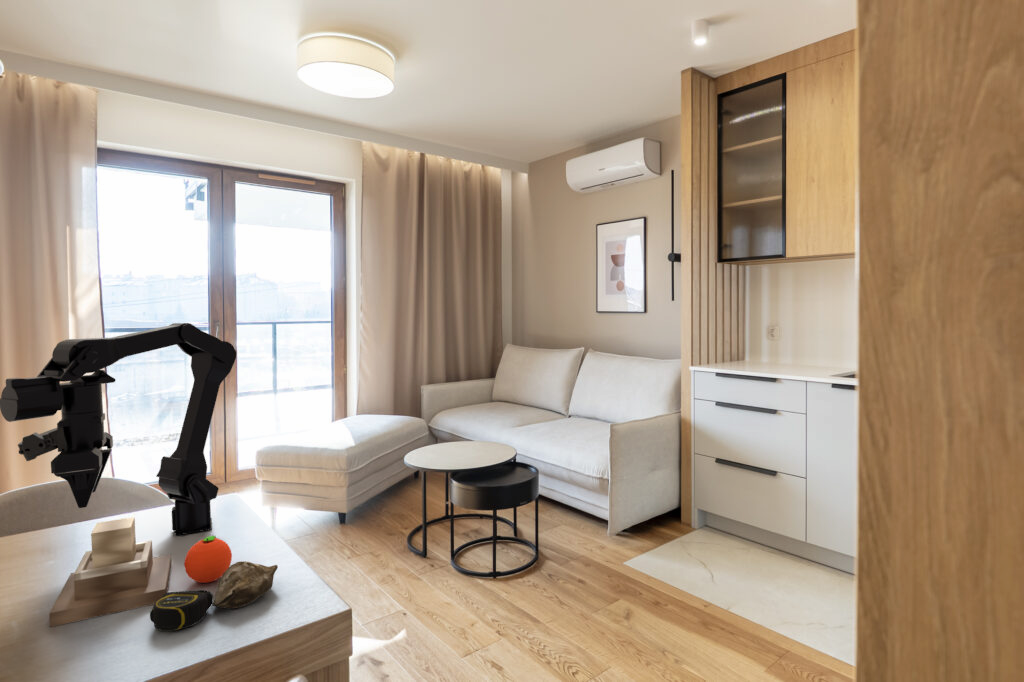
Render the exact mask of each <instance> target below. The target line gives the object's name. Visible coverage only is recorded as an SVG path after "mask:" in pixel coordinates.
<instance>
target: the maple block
mask: <svg viewBox="0 0 1024 682" xmlns="http://www.w3.org/2000/svg"><path fill="white" fill-rule="evenodd" d="M90 536H91V537H90V538H91V551H92V562H93V569H94V568H100V567H105V566H111V565H116V564H122V563H127V562H132V561H134V558H135V555H136V543H137V541H136V517H135V516H133V517H126V518H120V519H113V520H107V521H100V522H99V521H98V522H96V524H95V526H94V527H93V530H91V533H90Z"/></svg>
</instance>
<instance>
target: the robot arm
mask: <svg viewBox="0 0 1024 682" xmlns="http://www.w3.org/2000/svg"><path fill="white" fill-rule="evenodd" d="M175 345H176V346H178V348H179V349H180V351H182V352H183V353H184V354H186V355H187V356H189V357H191V361H190V368H191V372H192V373H191V374H192V376H193V385H192V389H191V392H190V396H189V400H188V403H187V404H188V405H187V408H186V412H185V416H184V418H183V419H184V420H183V424H182V427H181V432H180V436H179V438H178V442H177V446H176V448H175V450H174V452H173V453H172V454H171V455H170V456H162V458H161V460H160V468H159V470H158V473H156V478H158V487H160V488H161V490H162V491H163V492H164V493H166V495H167V497H168V499H169V500H174V506H173V507H172V508H171V528H172V531H174V536H182V535H188V534H194V533H199V532H206V531H210V530H212V529H213V522H212V514H211V513H212V511H211V501H212V500H214V499H216V498H217V496H218V492H219V490H220V489H219V487H218V486H217V485H216V484H214V483H213V482H211V481H210V480H208V479H207V472H208V464H207V461H206V460H207V459H206V457H205V453H204V452H205V448H206V447H205V446H206V443H207V438H208V435H209V431H210V427H211V423H212V418H213V414H214V412H215V411H214V410H215V407H216V402H217V399H218V398H217V397H218V394H219V391H220V386H221V384H222V383H223V382H224V381H225V379H226V378H227V377H228V376H229V374H230V373H231V372H232V369H233V366H234V365H235V362H236V360H237V350H236V349H235V347H234V345H233V344H231V343H230V342H228V341H225V340H221V339H220V338H218V337H216V336H214V335H212V334H210V333H207V332H205V331H203V330H201V329H199V328H198V327H196V326H195V325H194V324H192V323H189V322H173V323H171V324H169V325H163V326H160V327H155V328H150V329H146V330H141V331H137V332H132V333H127V334H123V335H117V336H112V337H95V338H93V337H92V338H70V339H69V338H68V339H65V340H62V341H59V342H58V343H57V344H56V346H55V347H54V349H53V351H52V354H51V355H52V356H51V358H50V359H49V361H48V362H47V363H46V365H45V366H44V367H43V368H42V370H41V371H40V372H39V373H38V374H37V376H35V377H25V378H20V377H19V378H18V377H10V378H6V379H5V386H4V387H3V389H2V391H1V395H0V412H1V416H2V417H3V418H4V420H5V421H6V422H9V423H12V422H18V421H26V420H32V419H40V418H46V417H53V416H55V415H56V414H57V412H58V411H60V413H61V414H60V415H61V419H60V420H59V421H58V422H57V423H56V427H55V428H52V429H49V430H47V431H44V432H42V433H38V432H33V433H31V434H29V435H24V436H23V437H22V440H21V441H20V442H19V443H18V444H17V447H18V449H19V450H18V454H19V455H21V456H22V455H23V457H24V459H25V461H26V462H29V461H33V460H35V459H37V458H38V457H40V456H42V455H44V454H47V453H50V452H53V451H55V450H57V452H58V454H57V455H56V456H55V457H54V458H53V459H52V460H51V461H50V471H51V472H50V474H54V475H53V476H55V477H56V478H57V477H58V478H61V479H63V480H65V481H66V482H68V486H69V487H70V489H71V493H72V495H73V497H74V500H75V503H76V505H77V508H78V509H83V508H87V506H88V504H89V502H90V499H91V497H92V494H93V493H95V492H96V490H97V488H98V485H99V483H100V481H101V478H102V476H103V473H104V470H105V468H106V466H107V463H108V461H109V458H110V456H111V454H112V448H113V447H114V440H113V437H114V436H113V435H112V434H110V433H109V432H107V431H105V426H104V423H105V422H104V421H105V420H106V413H104V407H103V406H104V405H103V386H102V385H103V384H112V383H115V382H116V378H114V377H113V376H111V375H109V374H108V373H107V372H106V370H103V369H105V368H108V367H110V366H112V365H114V364H115V363H117V362H119V361H120V360H122V359H125V358H126V357H130V356H135V355H138V354H139V355H140V354H142V353H143V354H144V353H146V352H150V351H154V350H160V349H163V348H167V347H172V346H175ZM91 373H92V374H91ZM87 374H88V375H87ZM61 382H62V383H61ZM104 447H105V449H103V448H104ZM106 448H107V449H106Z"/></svg>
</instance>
